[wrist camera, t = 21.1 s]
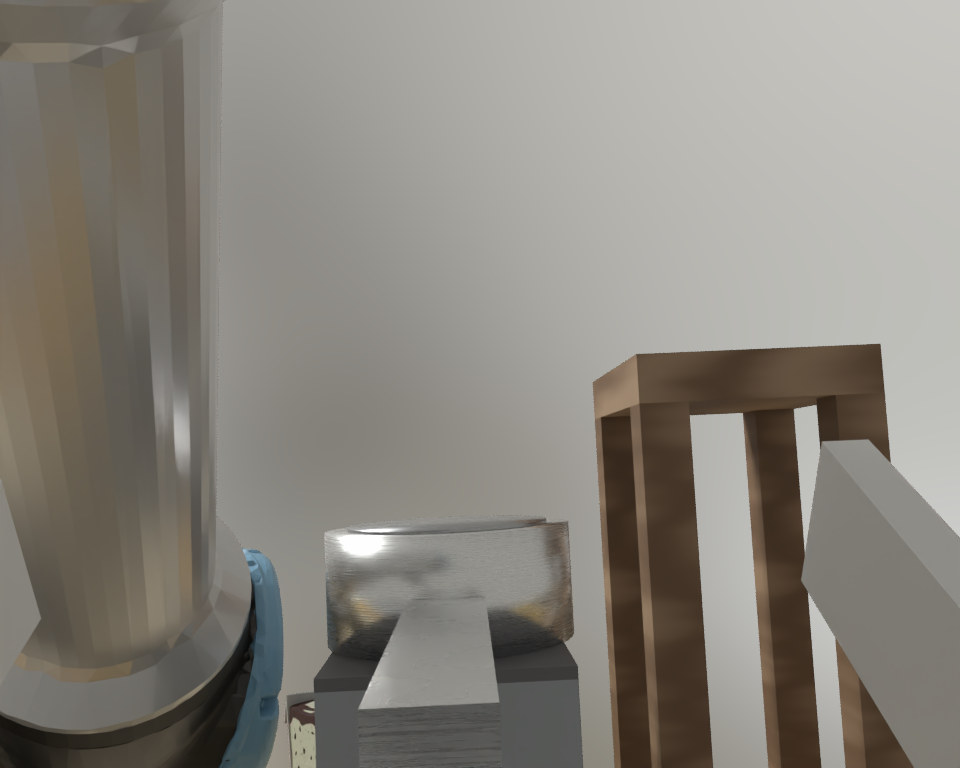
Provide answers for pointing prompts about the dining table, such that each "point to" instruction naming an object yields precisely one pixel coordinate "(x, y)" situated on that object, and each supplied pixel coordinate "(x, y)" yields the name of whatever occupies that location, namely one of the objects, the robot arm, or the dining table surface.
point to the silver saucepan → (443, 626)
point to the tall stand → (675, 556)
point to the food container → (301, 729)
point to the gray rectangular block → (522, 699)
